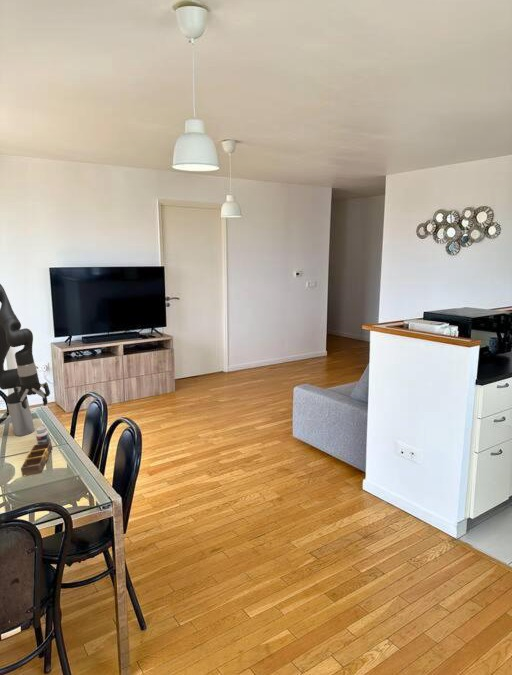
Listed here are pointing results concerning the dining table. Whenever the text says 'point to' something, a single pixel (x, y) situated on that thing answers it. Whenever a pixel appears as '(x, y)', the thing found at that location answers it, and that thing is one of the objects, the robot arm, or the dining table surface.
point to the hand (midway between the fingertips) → (35, 406)
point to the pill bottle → (42, 435)
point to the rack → (36, 459)
